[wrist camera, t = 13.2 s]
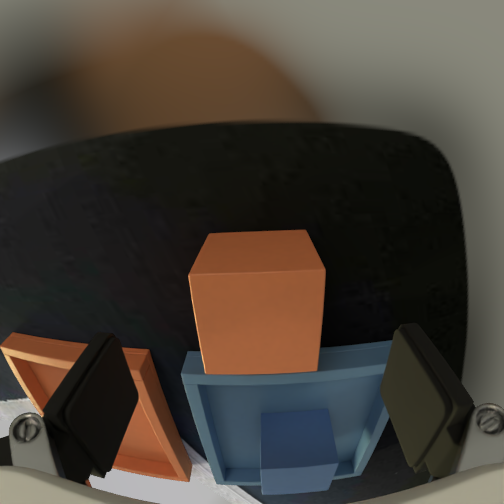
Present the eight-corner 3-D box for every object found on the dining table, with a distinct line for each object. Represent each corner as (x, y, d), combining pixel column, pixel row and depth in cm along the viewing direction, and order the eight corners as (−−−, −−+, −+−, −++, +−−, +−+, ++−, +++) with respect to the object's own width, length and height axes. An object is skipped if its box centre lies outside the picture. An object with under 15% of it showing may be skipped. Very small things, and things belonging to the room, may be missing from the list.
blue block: (260, 412, 18) (260, 469, 13) (328, 408, 18) (339, 463, 13) (262, 446, 19) (262, 495, 15) (320, 442, 19) (328, 490, 15)
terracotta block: (208, 233, 14) (187, 274, 10) (306, 229, 14) (326, 269, 10) (217, 315, 15) (205, 374, 11) (304, 312, 15) (317, 371, 11)
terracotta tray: (12, 331, 17) (-1, 345, 15) (149, 349, 17) (139, 370, 15) (79, 443, 22) (72, 456, 20) (192, 464, 22) (189, 482, 20)
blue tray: (187, 350, 16) (180, 374, 15) (399, 338, 16) (411, 359, 14) (218, 466, 22) (216, 484, 20) (356, 458, 21) (360, 475, 19)
